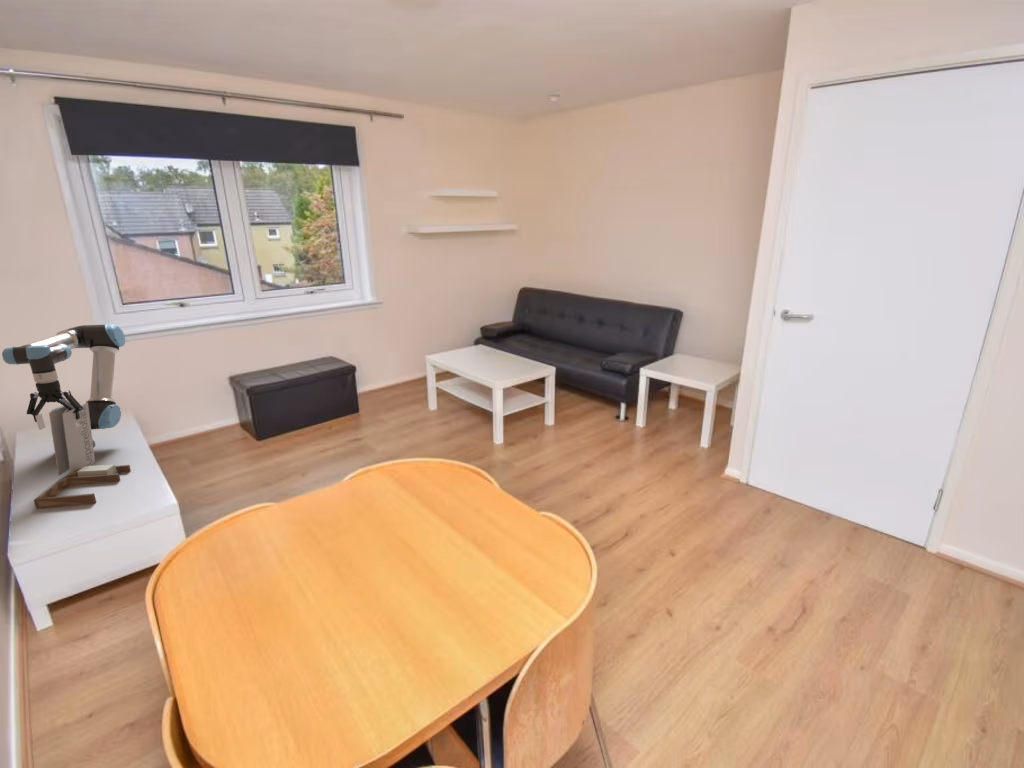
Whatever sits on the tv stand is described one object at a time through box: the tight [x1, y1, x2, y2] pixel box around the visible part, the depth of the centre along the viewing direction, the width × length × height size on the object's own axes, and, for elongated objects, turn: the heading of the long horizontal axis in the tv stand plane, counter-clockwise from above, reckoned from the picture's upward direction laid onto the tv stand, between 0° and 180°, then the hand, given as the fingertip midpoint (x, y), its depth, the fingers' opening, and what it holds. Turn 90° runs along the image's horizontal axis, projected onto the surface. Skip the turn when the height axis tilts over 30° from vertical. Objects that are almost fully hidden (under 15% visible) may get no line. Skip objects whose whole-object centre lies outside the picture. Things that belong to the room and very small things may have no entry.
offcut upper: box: [77, 464, 116, 477], centre depth 222 cm, size 6×12×3 cm, turn 96°
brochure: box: [48, 402, 96, 476], centre depth 223 cm, size 14×6×30 cm, turn 3°
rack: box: [33, 464, 132, 510], centre depth 214 cm, size 28×21×4 cm
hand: (60, 427), depth 220 cm, fingers open, 13 cm apart
